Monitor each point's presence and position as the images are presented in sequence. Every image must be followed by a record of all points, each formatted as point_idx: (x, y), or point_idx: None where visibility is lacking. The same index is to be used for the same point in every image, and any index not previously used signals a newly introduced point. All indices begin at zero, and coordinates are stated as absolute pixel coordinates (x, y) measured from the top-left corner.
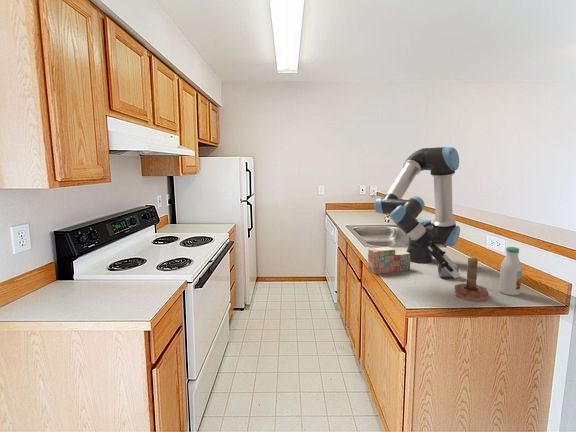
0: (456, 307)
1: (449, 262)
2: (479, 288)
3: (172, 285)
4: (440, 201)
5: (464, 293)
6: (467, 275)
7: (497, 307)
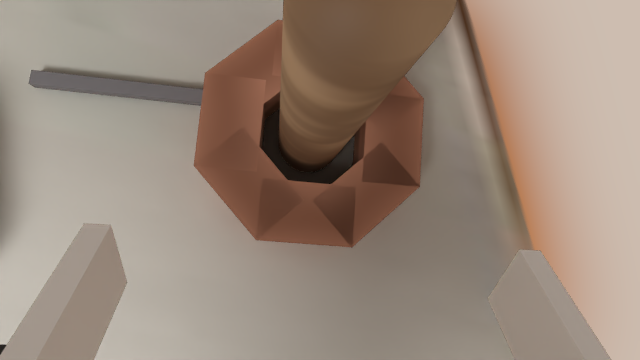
0: None
1: (80, 328)
2: None
3: None
4: None
5: (403, 199)
6: (334, 139)
7: (473, 44)
